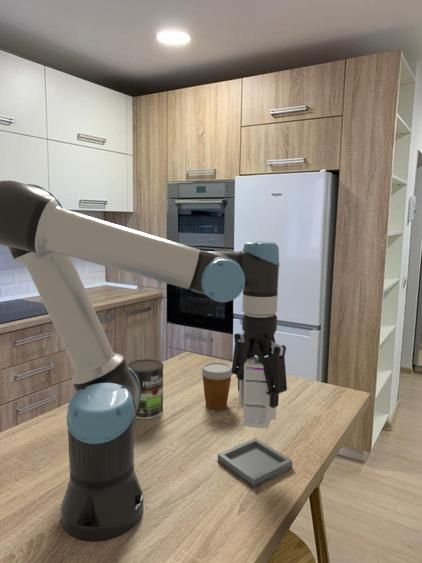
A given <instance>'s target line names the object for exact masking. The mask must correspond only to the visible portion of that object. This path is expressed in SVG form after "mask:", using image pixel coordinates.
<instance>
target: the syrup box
mask: <svg viewBox="0 0 422 563" xmlns="http://www.w3.org/2000/svg"><path fill="white" fill-rule="evenodd" d="M266 392H268V387H267V383H266V379H265V374H264V366H263V364H262V363H261V362H260V361H259V357H258V356H256V355H255V357H252V358H249V359H247V360H246V361H245V363H244V405H243V409H242V410H243V411H242V412H243V413H242V414H243V415H242V417H243V419H242V420H243V421H242V422H243V426H245V427H249V428H258V429H259V428H260V429H266V430H267V429H269V428H270V427H269V426H270V423H271V421H269V422H266V421H265V393H266Z"/></svg>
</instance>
